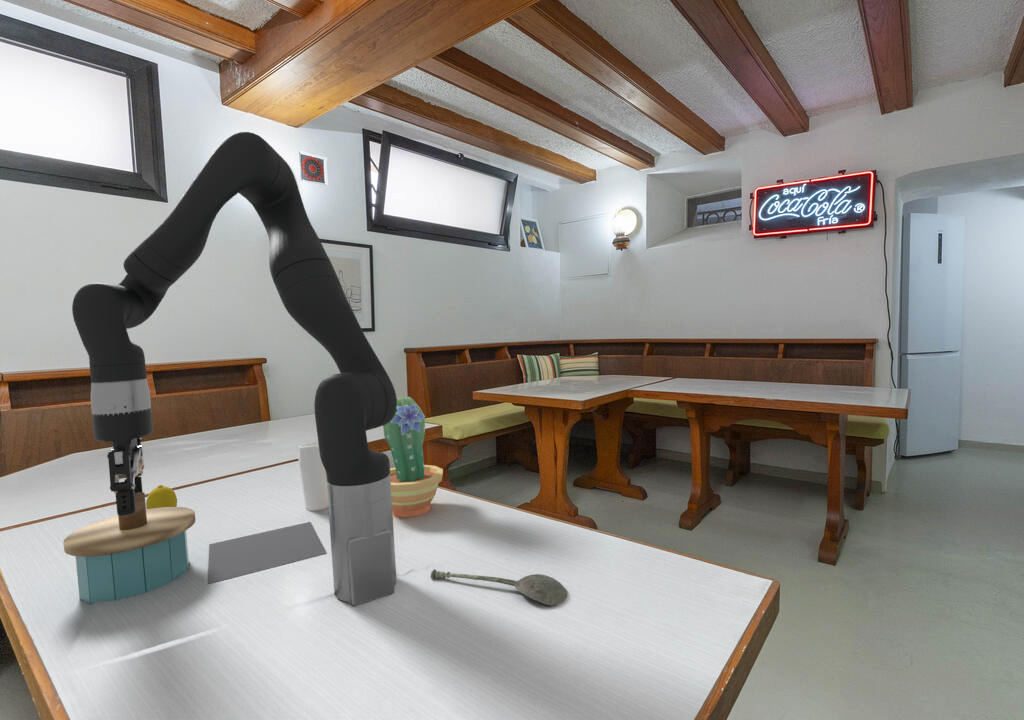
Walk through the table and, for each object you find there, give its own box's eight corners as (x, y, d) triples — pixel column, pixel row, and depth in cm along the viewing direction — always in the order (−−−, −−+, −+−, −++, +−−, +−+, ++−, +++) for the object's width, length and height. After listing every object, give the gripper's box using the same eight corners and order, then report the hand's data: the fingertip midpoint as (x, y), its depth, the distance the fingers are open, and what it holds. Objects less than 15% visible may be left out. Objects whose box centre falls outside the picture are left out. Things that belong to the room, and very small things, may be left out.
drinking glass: (327, 513, 108) (322, 446, 107) (296, 514, 108) (292, 447, 107) (338, 502, 114) (334, 439, 113) (310, 503, 114) (305, 440, 114)
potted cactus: (362, 522, 101) (354, 403, 100) (390, 497, 116) (384, 393, 115) (434, 523, 99) (427, 401, 98) (453, 497, 114) (448, 392, 113)
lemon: (184, 515, 110) (181, 481, 110) (164, 525, 105) (161, 489, 104) (161, 516, 111) (158, 481, 110) (141, 525, 105) (137, 489, 105)
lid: (193, 536, 77) (190, 498, 77) (49, 567, 68) (45, 524, 68) (197, 506, 92) (194, 474, 91) (78, 528, 83) (75, 493, 83)
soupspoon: (561, 619, 66) (573, 596, 72) (561, 595, 66) (573, 574, 72) (422, 589, 74) (443, 570, 80) (422, 567, 74) (443, 550, 80)
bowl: (186, 584, 78) (181, 536, 78) (70, 614, 71) (65, 560, 70) (190, 552, 90) (186, 510, 90) (92, 575, 83) (87, 529, 82)
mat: (327, 556, 86) (326, 553, 86) (207, 587, 77) (207, 584, 77) (310, 524, 102) (310, 521, 102) (209, 546, 92) (209, 544, 92)
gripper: (145, 410, 75) (154, 514, 76) (155, 401, 87) (163, 490, 88) (81, 417, 71) (91, 525, 72) (101, 406, 83) (110, 499, 84)
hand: (131, 506), depth 80 cm, fingers open, 8 cm apart
